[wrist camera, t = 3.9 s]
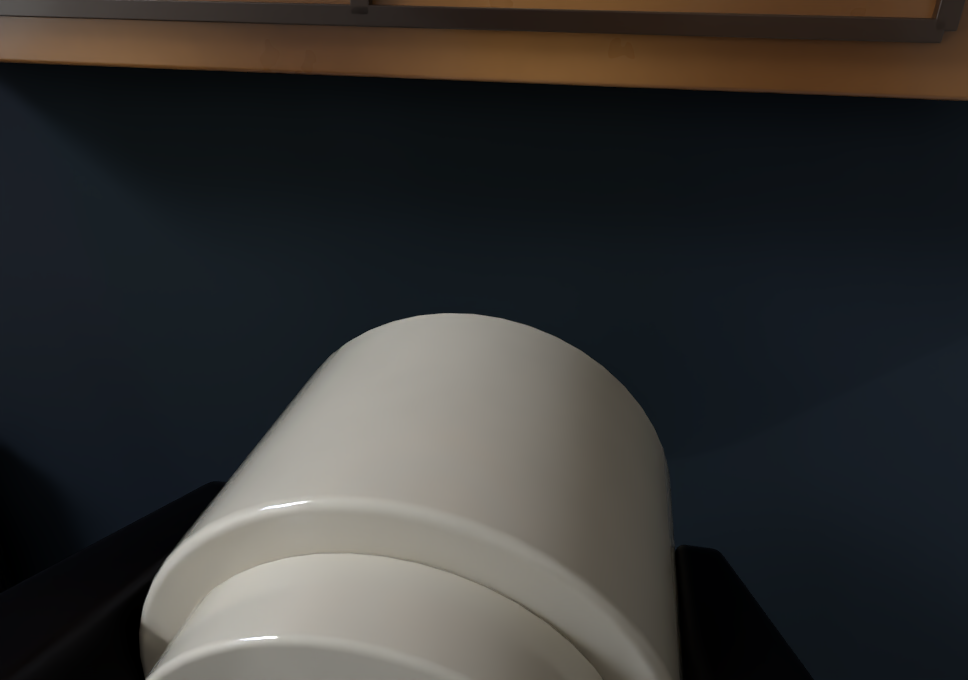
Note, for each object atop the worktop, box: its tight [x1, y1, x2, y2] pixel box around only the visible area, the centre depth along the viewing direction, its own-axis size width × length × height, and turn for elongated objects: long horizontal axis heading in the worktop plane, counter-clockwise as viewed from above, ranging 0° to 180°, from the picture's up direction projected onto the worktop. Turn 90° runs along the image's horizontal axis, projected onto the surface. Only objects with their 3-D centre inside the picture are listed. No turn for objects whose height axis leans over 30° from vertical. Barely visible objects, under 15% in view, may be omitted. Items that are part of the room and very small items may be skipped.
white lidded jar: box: [139, 313, 684, 680], centre depth 7 cm, size 5×5×4 cm
